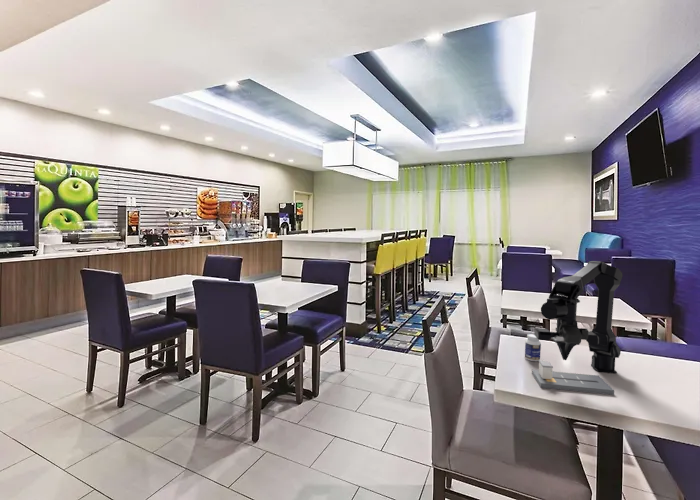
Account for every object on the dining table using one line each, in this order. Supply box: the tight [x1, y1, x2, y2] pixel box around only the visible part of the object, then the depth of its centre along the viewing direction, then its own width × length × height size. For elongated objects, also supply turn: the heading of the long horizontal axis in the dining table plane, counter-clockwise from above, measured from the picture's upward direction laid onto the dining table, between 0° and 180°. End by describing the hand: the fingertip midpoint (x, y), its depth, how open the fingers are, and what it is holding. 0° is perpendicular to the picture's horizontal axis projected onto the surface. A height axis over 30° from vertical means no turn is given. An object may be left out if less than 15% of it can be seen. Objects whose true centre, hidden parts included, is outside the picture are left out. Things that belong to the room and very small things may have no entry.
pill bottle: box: [524, 333, 542, 362], centre depth 149 cm, size 6×6×10 cm
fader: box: [538, 359, 554, 379], centre depth 128 cm, size 3×5×5 cm, turn 166°
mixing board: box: [531, 369, 615, 396], centre depth 126 cm, size 22×12×2 cm, turn 76°
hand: (564, 359), depth 126 cm, fingers closed
